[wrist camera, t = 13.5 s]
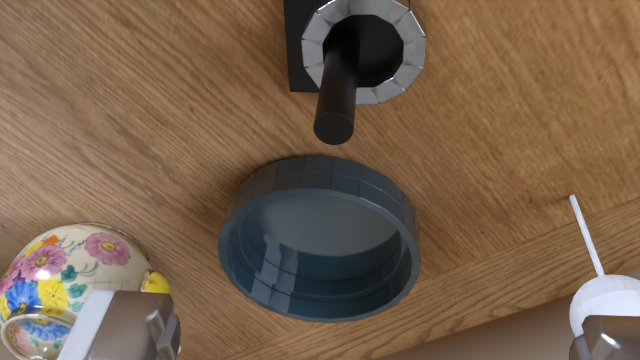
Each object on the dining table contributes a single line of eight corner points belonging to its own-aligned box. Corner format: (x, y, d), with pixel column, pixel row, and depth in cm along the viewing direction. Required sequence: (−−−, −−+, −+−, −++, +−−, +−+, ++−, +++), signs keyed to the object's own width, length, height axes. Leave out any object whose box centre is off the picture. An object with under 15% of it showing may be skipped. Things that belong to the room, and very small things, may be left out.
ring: (309, 91, 40) (306, 105, 39) (300, -17, 35) (296, -6, 34) (420, 90, 39) (421, 104, 38) (427, -20, 34) (429, -9, 33)
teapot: (93, 311, 64) (39, 425, 54) (-6, 240, 57) (-89, 356, 47) (225, 259, 55) (189, 382, 45) (127, 168, 48) (60, 290, 39)
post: (291, 85, 41) (267, 181, 33) (284, -22, 36) (253, 61, 28) (399, 88, 41) (401, 187, 32) (407, -20, 35) (413, 65, 27)
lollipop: (530, 177, 45) (577, 337, 34) (608, 161, 43) (686, 324, 32) (539, 228, 49) (586, 388, 37) (612, 215, 47) (684, 378, 36)
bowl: (241, 280, 57) (231, 317, 54) (216, 148, 46) (202, 183, 43) (409, 290, 56) (410, 328, 53) (427, 156, 45) (430, 193, 41)
